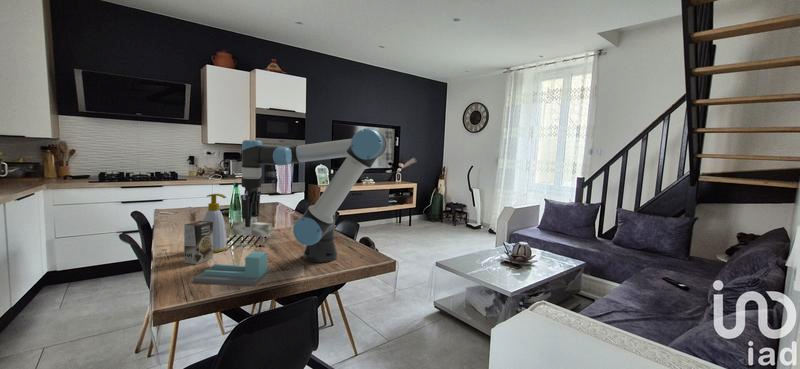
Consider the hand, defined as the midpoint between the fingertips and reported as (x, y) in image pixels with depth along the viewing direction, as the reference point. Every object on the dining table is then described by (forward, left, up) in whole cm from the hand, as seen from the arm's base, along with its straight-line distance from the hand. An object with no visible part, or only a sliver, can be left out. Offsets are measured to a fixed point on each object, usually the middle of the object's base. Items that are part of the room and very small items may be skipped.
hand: (250, 232), depth 143 cm
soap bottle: (+23, -13, -13) cm, 29 cm away
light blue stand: (-1, +17, -13) cm, 21 cm away
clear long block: (-1, 0, -1) cm, 1 cm away
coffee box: (+21, +2, -13) cm, 25 cm away
